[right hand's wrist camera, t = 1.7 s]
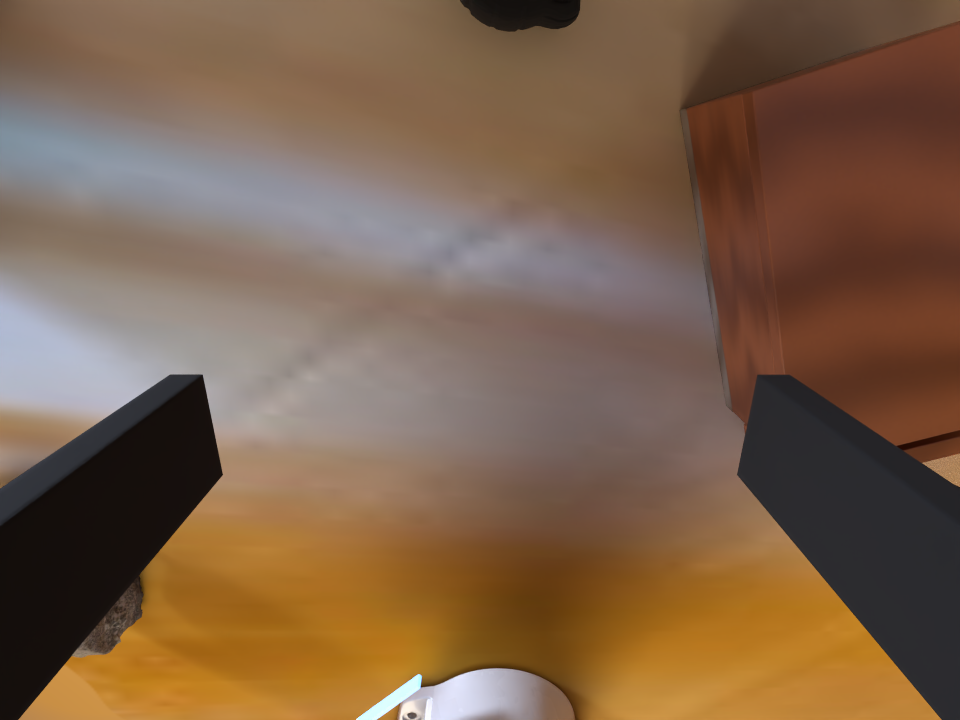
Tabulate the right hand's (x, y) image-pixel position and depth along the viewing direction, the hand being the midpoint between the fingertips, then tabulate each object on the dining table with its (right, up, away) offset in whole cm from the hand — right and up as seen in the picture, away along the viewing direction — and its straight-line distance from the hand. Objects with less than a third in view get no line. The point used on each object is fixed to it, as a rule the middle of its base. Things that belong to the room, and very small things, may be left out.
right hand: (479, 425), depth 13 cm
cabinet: (+20, +9, +21) cm, 30 cm away
